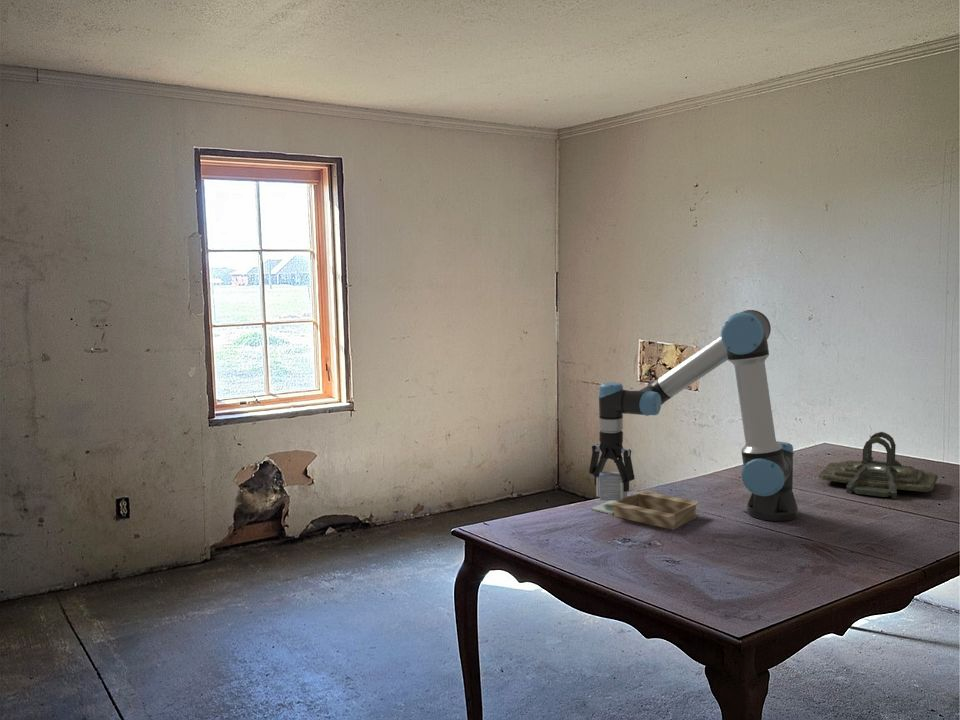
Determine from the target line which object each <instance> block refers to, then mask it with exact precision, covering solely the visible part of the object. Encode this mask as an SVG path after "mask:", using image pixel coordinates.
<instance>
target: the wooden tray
mask: <svg viewBox="0 0 960 720" xmlns="http://www.w3.org/2000/svg"><path fill="white" fill-rule="evenodd" d="M700 503H701V502H700V501H696V500H692V499H686V498H680V497H675V496H671V495H666V494H660V493H656V492H650V491H645V490H641V491H637V492H635V493H633V494H631V495H629V496H628V495H627V497H626V498H623V499H621V500H617V501H616V502H614V503H611V504H609V505H610V506H614V514H613V517H614V518H615V517H616V518H620V519H625V520H628V521H629V520H630V521H633V522H638V523H642V524H647V525H650V526H654V527H660V528H664V529H668V530H672V531H673V530H675V529H678V528H679V527H682V526H683V525H685V524H687V523H689V522H691V521H693V520H695V519H697V505H699V504H700Z"/></svg>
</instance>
